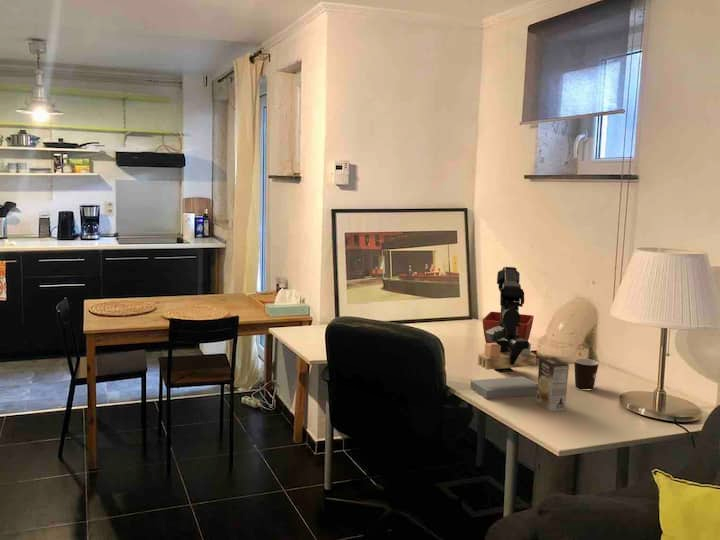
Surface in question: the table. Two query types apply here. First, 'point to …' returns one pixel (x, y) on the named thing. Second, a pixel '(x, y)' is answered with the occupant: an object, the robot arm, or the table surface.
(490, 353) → the orange cube
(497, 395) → the dock
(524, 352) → the grey cube
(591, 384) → the coffee mug
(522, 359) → the wooden block
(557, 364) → the coffee box
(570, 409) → the table surface
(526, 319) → the plant pot
